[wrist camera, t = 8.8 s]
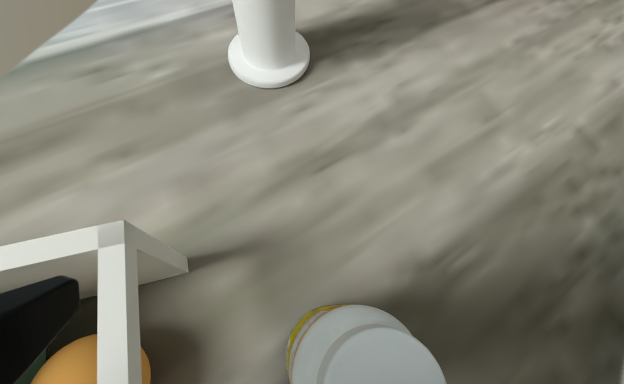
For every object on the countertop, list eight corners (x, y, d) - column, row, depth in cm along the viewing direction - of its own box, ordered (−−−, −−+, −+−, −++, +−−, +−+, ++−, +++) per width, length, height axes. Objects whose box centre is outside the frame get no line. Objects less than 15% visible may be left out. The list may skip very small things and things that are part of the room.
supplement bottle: (266, 360, 18) (257, 415, 9) (324, 286, 19) (366, 268, 10) (339, 430, 17) (412, 570, 8) (392, 346, 19) (501, 382, 10)
